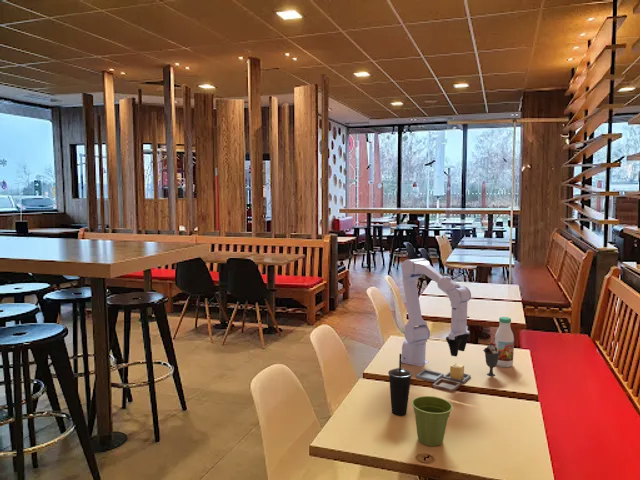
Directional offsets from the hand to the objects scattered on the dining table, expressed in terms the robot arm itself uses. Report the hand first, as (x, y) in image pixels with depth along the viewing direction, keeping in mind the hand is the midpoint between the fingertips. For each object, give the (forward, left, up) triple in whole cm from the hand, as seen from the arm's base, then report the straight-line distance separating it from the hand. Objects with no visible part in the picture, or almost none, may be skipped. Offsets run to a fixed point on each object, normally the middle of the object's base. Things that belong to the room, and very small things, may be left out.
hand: (457, 353), depth 197 cm
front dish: (0, -10, -10) cm, 14 cm away
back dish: (0, 0, -10) cm, 10 cm away
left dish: (-9, -5, -10) cm, 15 cm away
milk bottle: (+10, +27, -11) cm, 31 cm away
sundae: (+10, +11, -11) cm, 18 cm away
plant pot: (+12, -51, -11) cm, 53 cm away
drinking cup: (-4, -40, -11) cm, 41 cm away
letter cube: (0, 0, -10) cm, 10 cm away
